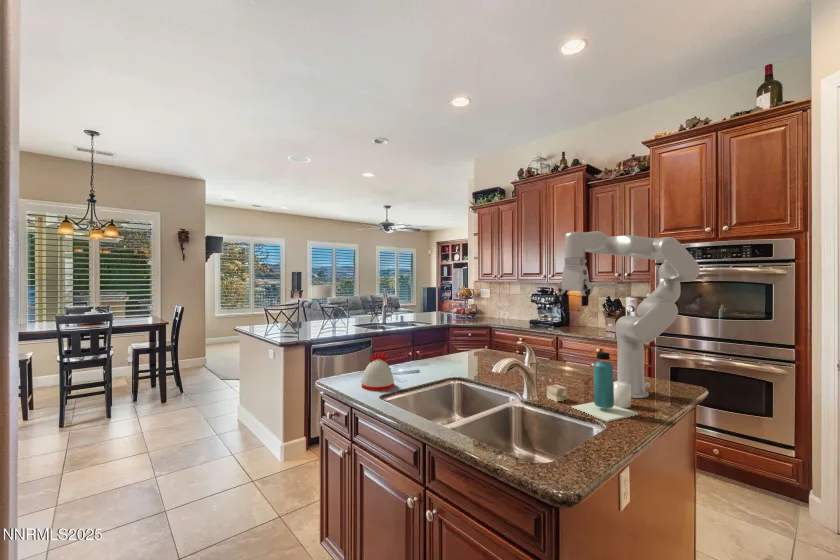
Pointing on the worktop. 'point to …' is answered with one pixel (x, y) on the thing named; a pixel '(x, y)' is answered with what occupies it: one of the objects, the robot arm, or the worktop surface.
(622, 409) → the sage mat
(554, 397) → the birch block
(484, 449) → the worktop surface
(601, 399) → the beverage bottle
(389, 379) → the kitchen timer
